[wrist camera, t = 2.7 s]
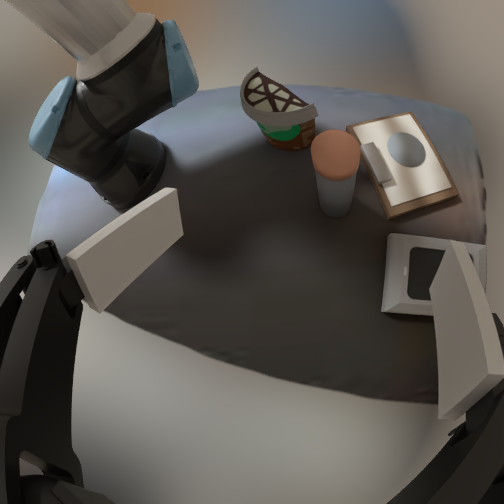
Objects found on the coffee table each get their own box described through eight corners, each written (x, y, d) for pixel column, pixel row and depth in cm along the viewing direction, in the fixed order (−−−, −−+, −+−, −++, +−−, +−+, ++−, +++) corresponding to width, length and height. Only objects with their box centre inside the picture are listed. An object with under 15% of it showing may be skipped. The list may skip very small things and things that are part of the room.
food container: (241, 128, 41) (219, 88, 32) (270, 107, 41) (254, 65, 31) (290, 174, 37) (276, 133, 28) (322, 149, 37) (316, 104, 27)
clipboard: (387, 219, 32) (391, 213, 30) (346, 130, 36) (346, 121, 34) (455, 197, 30) (461, 190, 27) (410, 116, 34) (412, 107, 31)
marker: (324, 222, 34) (321, 177, 22) (313, 192, 36) (303, 137, 23) (357, 212, 33) (368, 163, 21) (345, 182, 35) (348, 124, 22)
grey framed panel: (488, 318, 23) (386, 311, 27) (475, 317, 26) (380, 311, 31) (490, 243, 24) (392, 229, 29) (478, 249, 28) (386, 237, 32)
